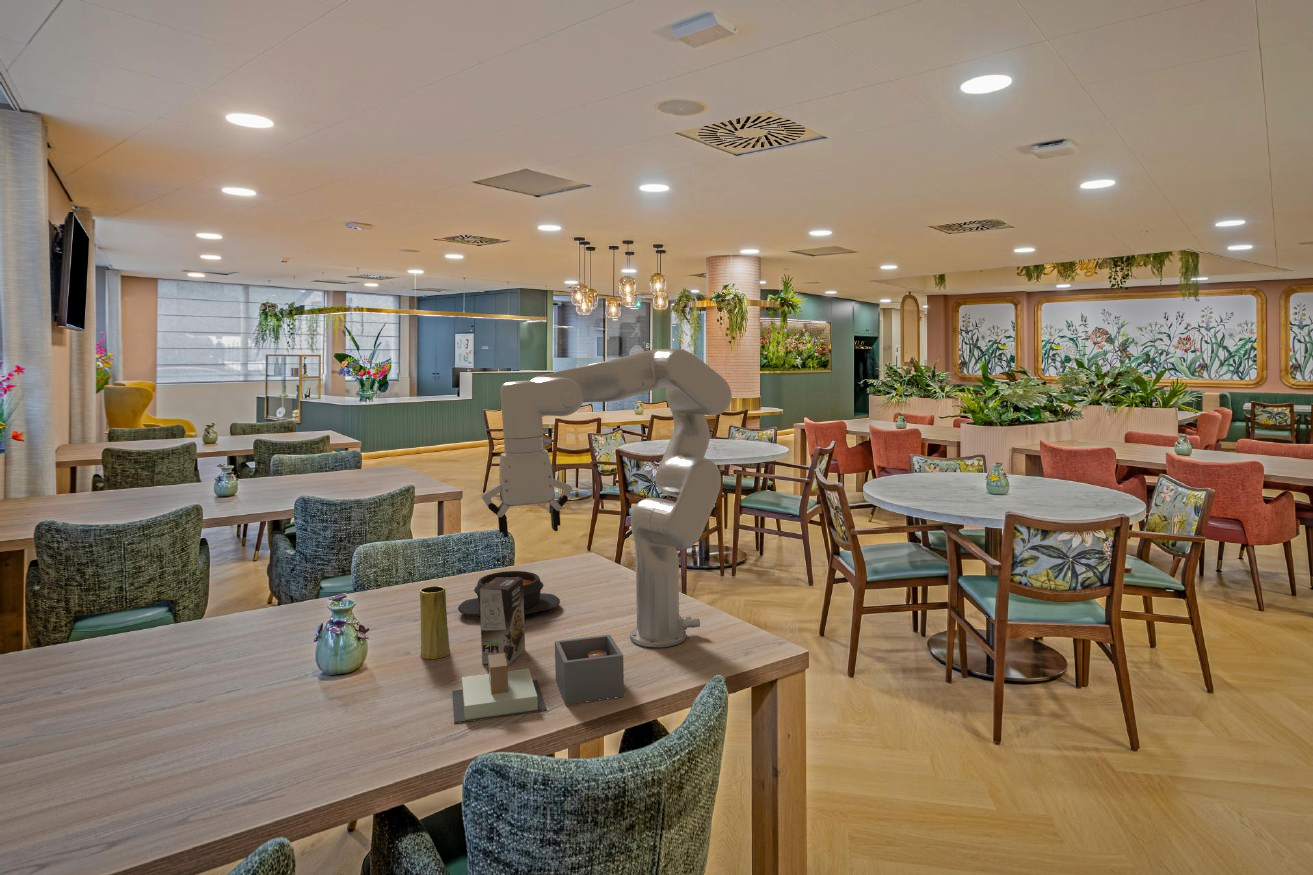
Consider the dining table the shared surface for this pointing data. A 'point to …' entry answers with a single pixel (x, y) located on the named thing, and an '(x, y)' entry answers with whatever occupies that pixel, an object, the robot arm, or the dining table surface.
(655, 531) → the robot arm
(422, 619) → the vase
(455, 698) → the mat
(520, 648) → the coffee box
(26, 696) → the dining table surface
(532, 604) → the casserole
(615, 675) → the storage box
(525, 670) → the lid
